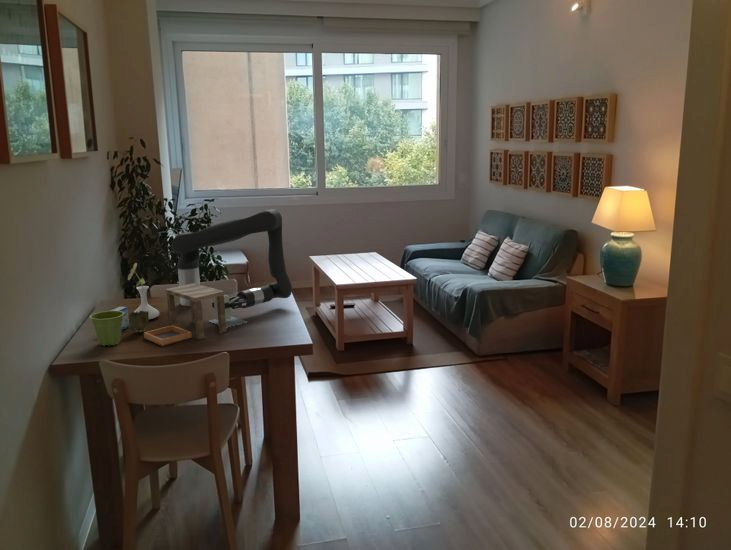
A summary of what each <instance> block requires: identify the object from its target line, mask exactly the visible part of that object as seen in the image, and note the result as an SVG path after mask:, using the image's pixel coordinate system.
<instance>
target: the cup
mask: <svg viewBox="0 0 731 550" xmlns="http://www.w3.org/2000/svg"><path fill="white" fill-rule="evenodd" d="M148 314H149V312H148V311H147V312H146V311H145V312H144V311H140V312H139V313H138V312H136V313H135V312H134V311H131V312H129V314H128V318H129V324H130V326H131V327H132V329H133V330H135V333H136V332H137V334H143V333H144V332H146V328H147V327H148V325H149V320H148ZM142 332H143V333H142Z"/></svg>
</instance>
